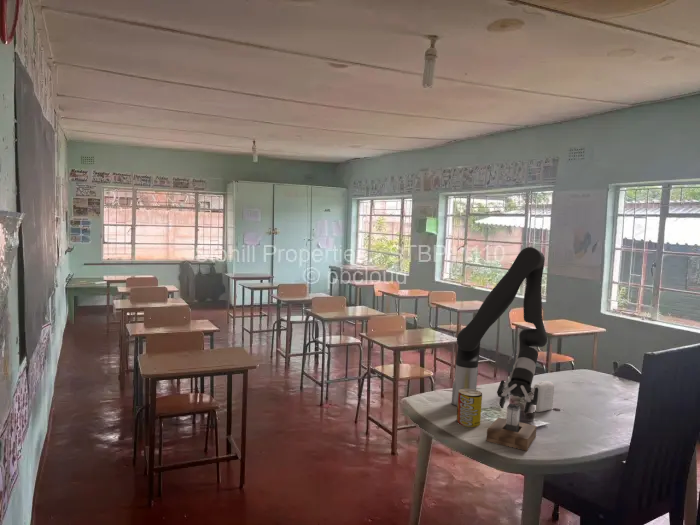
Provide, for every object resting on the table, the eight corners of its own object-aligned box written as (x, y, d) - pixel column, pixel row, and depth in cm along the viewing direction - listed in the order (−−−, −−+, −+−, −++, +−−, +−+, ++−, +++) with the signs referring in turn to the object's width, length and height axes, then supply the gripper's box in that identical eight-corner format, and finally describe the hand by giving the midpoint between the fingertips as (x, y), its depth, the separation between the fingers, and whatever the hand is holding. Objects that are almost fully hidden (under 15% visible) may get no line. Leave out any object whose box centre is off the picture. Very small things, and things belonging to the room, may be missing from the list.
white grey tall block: (504, 436, 189) (507, 406, 188) (507, 432, 192) (510, 403, 192) (515, 438, 187) (517, 408, 186) (518, 435, 190) (520, 405, 190)
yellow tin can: (454, 417, 209) (456, 388, 208) (477, 419, 208) (479, 389, 207) (458, 426, 200) (460, 395, 199) (482, 427, 199) (484, 396, 198)
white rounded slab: (545, 406, 228) (547, 378, 227) (553, 409, 225) (556, 381, 224) (530, 409, 222) (532, 381, 222) (538, 413, 219) (541, 384, 218)
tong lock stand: (486, 440, 187) (487, 429, 186) (497, 428, 200) (498, 417, 199) (526, 451, 180) (527, 439, 179) (535, 437, 193) (536, 426, 192)
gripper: (503, 363, 201) (492, 400, 192) (542, 370, 194) (532, 409, 185) (505, 373, 206) (495, 410, 197) (543, 381, 198) (534, 419, 189)
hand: (513, 409), depth 191 cm, fingers open, 8 cm apart
